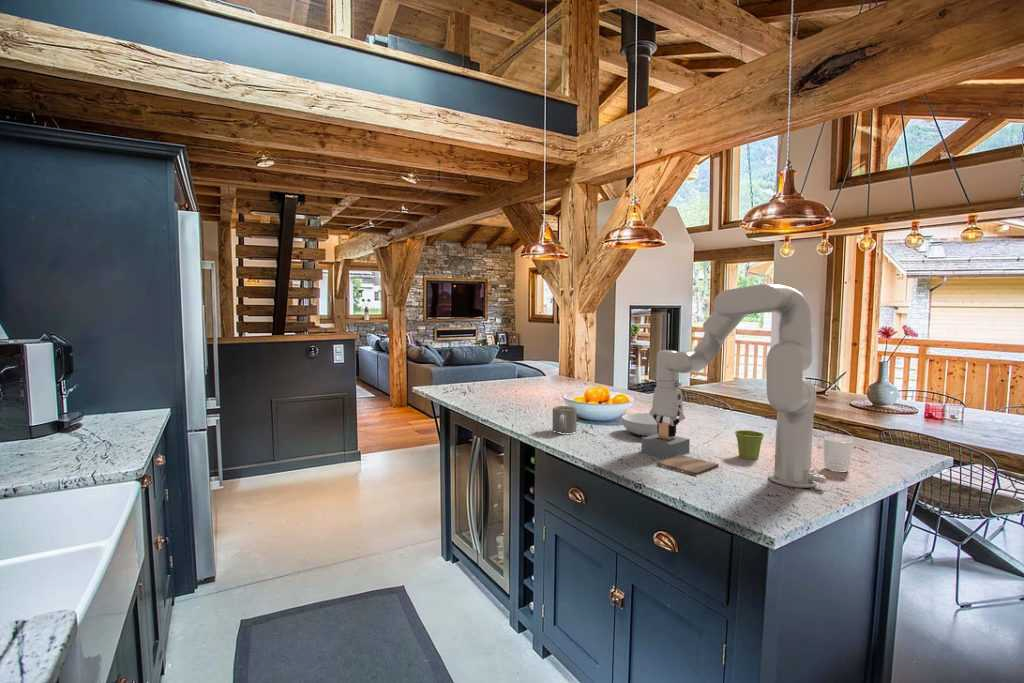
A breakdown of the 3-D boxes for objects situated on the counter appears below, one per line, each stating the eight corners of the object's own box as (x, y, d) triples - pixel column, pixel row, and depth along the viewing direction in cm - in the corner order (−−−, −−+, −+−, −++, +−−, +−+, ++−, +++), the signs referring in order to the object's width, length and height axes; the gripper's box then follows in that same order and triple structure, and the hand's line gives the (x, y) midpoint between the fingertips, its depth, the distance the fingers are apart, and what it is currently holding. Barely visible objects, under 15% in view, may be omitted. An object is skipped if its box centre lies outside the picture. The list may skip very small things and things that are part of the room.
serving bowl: (628, 440, 199) (629, 423, 198) (616, 428, 219) (616, 412, 219) (680, 440, 199) (681, 423, 199) (663, 428, 220) (663, 412, 220)
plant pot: (727, 455, 179) (728, 431, 178) (745, 452, 183) (746, 428, 183) (751, 462, 170) (752, 437, 170) (769, 459, 175) (770, 434, 174)
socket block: (689, 452, 182) (689, 439, 182) (670, 458, 174) (671, 444, 174) (660, 445, 191) (660, 432, 191) (641, 451, 183) (641, 437, 183)
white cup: (837, 474, 159) (839, 443, 158) (816, 466, 167) (817, 437, 166) (857, 472, 161) (858, 441, 160) (835, 465, 169) (836, 435, 168)
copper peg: (674, 450, 182) (674, 423, 182) (668, 452, 179) (668, 424, 179) (664, 448, 185) (664, 421, 185) (658, 450, 182) (658, 422, 182)
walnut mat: (718, 467, 165) (718, 464, 165) (696, 475, 156) (696, 472, 156) (679, 457, 176) (679, 454, 176) (657, 465, 167) (657, 462, 167)
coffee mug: (557, 427, 219) (557, 405, 218) (579, 430, 215) (579, 407, 214) (545, 434, 207) (546, 410, 207) (568, 437, 203) (568, 412, 202)
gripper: (694, 386, 177) (693, 437, 178) (653, 381, 190) (652, 429, 191) (683, 388, 172) (681, 441, 173) (641, 383, 185) (640, 432, 186)
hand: (666, 434), depth 182 cm, fingers closed on copper peg, 4 cm apart
